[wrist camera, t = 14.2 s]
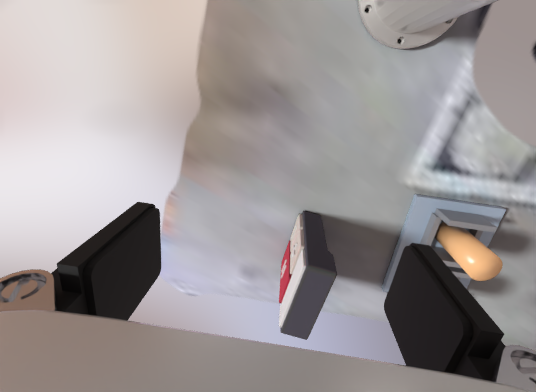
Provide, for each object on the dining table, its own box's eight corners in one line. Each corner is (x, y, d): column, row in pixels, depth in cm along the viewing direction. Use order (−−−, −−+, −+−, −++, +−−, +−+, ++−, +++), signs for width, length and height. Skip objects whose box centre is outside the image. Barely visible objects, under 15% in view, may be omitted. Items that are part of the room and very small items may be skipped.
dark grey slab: (298, 208, 45) (301, 263, 31) (324, 215, 45) (337, 274, 31) (279, 262, 49) (274, 332, 35) (303, 269, 49) (306, 341, 36)
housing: (414, 193, 43) (448, 224, 33) (501, 206, 42) (560, 241, 33) (381, 287, 49) (401, 334, 40) (455, 299, 49) (493, 349, 40)
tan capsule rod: (439, 218, 43) (475, 251, 34) (466, 222, 43) (508, 256, 34) (430, 241, 44) (462, 278, 36) (456, 245, 44) (493, 283, 36)
